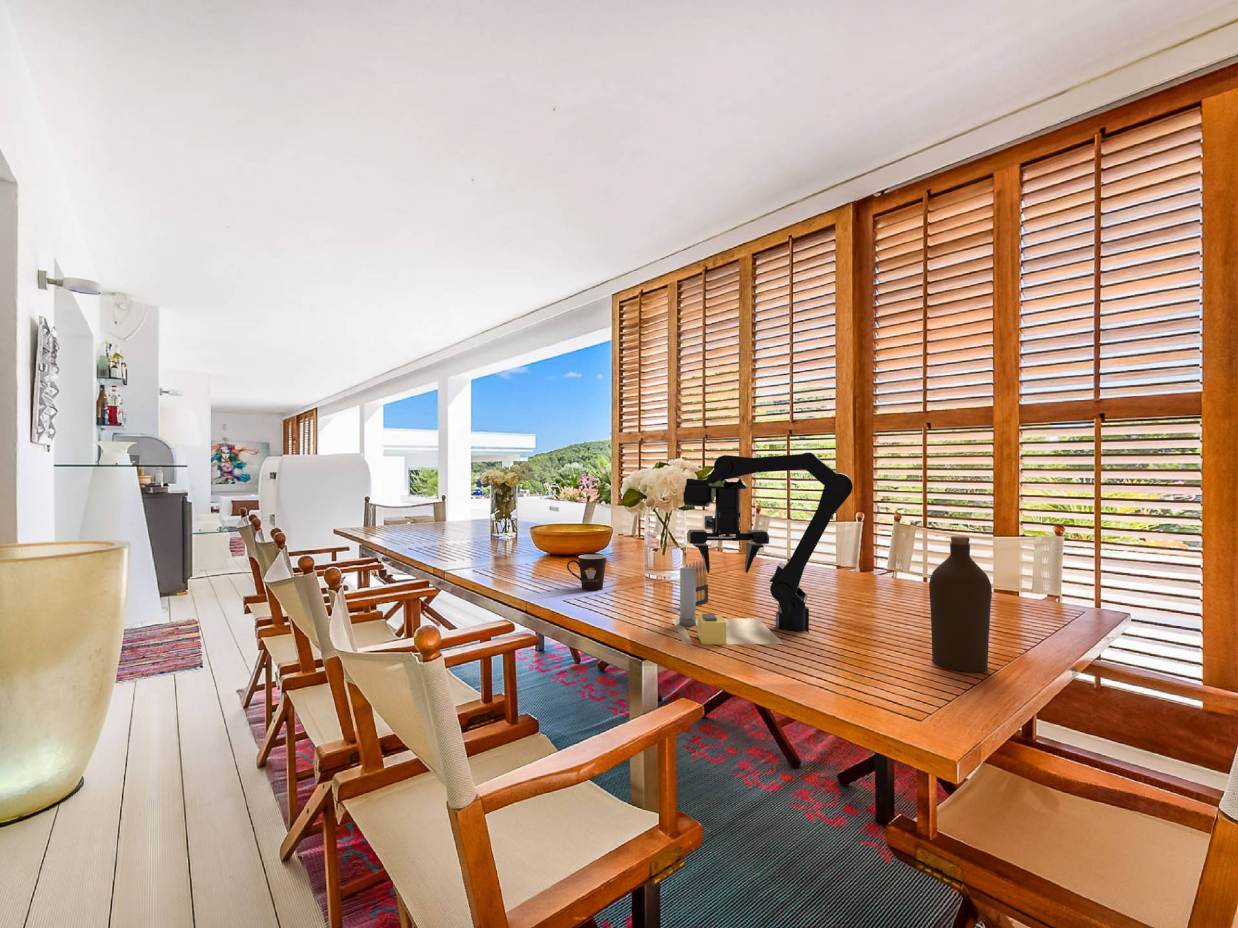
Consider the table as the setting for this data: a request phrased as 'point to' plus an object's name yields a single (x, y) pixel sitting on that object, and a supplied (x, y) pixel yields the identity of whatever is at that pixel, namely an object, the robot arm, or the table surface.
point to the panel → (737, 632)
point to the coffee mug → (590, 571)
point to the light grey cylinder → (687, 596)
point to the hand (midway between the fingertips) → (727, 572)
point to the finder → (711, 629)
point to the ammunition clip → (700, 583)
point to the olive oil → (960, 611)
